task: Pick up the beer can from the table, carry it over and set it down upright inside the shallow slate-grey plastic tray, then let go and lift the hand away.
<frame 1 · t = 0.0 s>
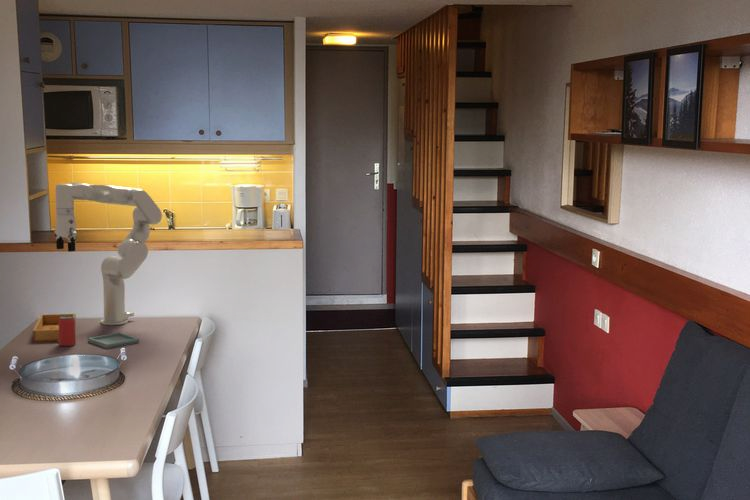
hand: (65, 250, 365), 37 cm above the table, tool pointing down, fingers open, 9 cm apart
beer can: (67, 345, 346), on the table
tray: (55, 334, 366), on the table
slate tray: (113, 342, 352), on the table
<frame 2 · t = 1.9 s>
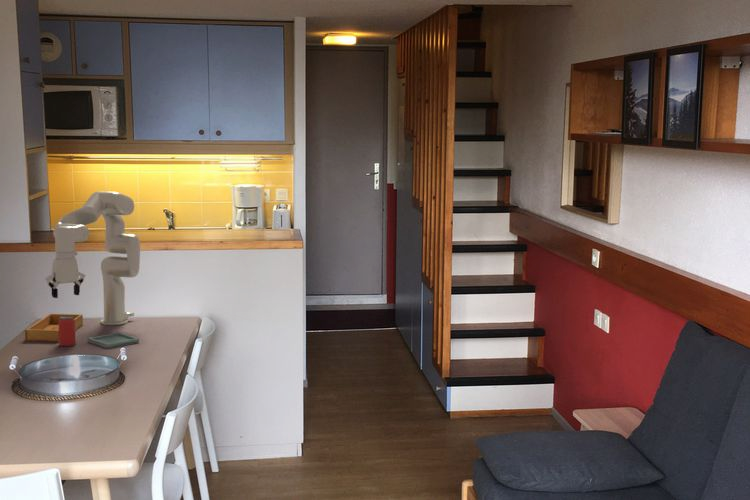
hand: (65, 296, 343), 21 cm above the table, tool pointing down, fingers open, 9 cm apart
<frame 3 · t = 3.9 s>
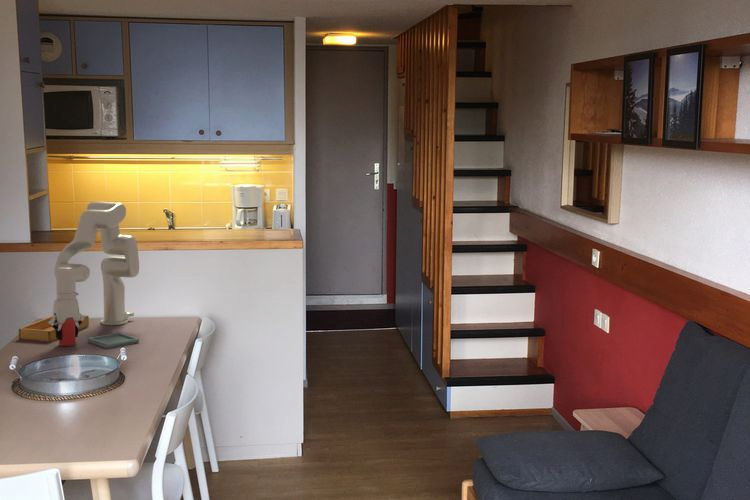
hand: (67, 337, 345), 3 cm above the table, tool pointing down, fingers closed on beer can, 6 cm apart
beer can: (67, 345, 346), on the table, touching gripper
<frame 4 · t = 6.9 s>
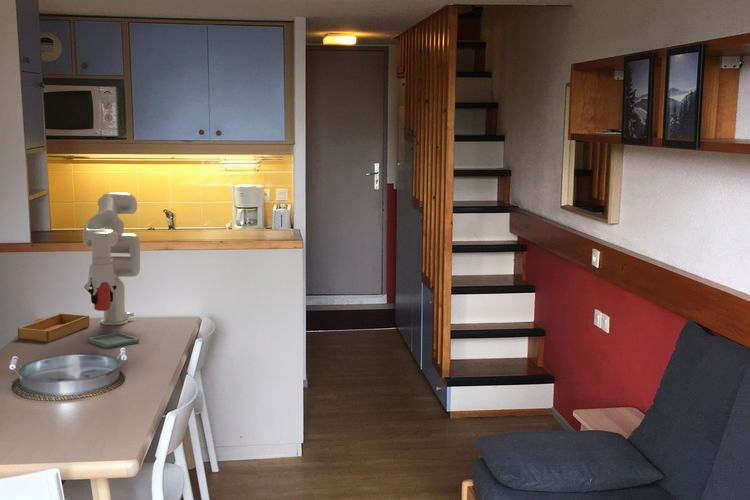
hand: (102, 302, 348), 18 cm above the table, tool pointing down, fingers closed on beer can, 6 cm apart
beer can: (102, 309, 349), point 14 cm above the table, touching gripper
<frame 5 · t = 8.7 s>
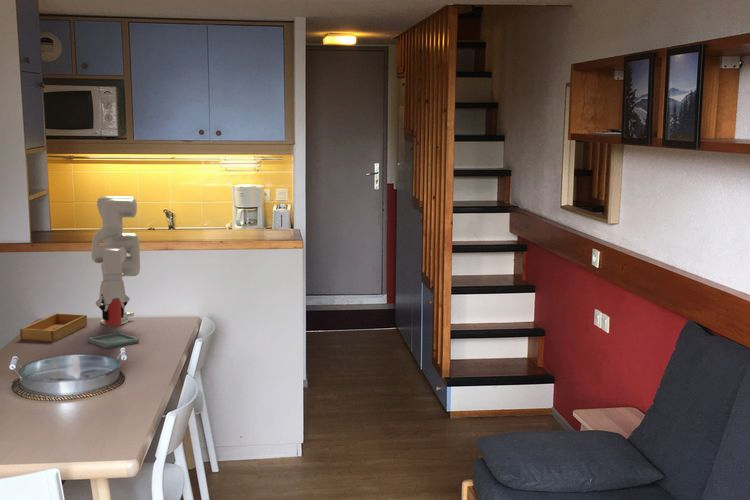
hand: (113, 318, 350), 11 cm above the table, tool pointing down, fingers closed on beer can, 6 cm apart
beer can: (113, 325, 351), point 7 cm above the table, touching gripper
when the fingers open (5 cm above the table, at t = 10.2 s): beer can drops 1 cm, resting on slate tray.
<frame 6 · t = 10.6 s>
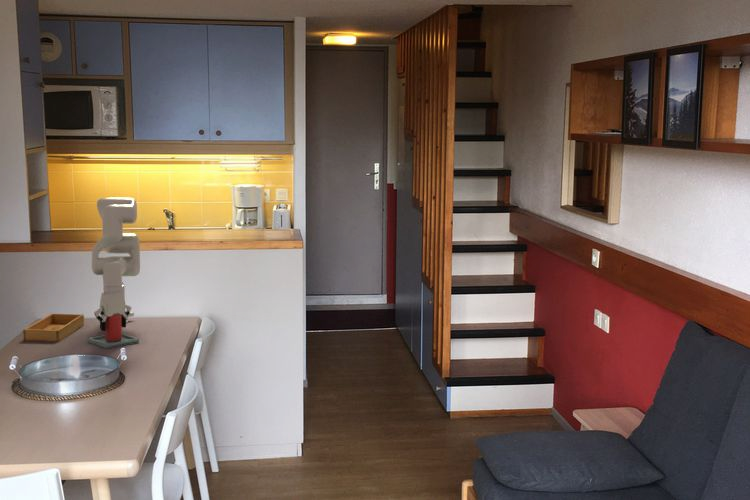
hand: (113, 328, 351), 6 cm above the table, tool pointing down, fingers open, 9 cm apart
beer can: (113, 340, 352), point 1 cm above the table, touching slate tray
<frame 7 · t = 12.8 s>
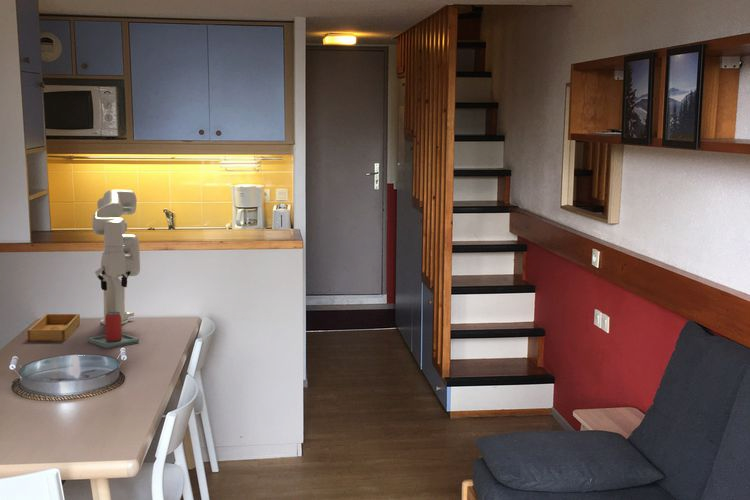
hand: (114, 288, 354), 23 cm above the table, tool pointing down, fingers open, 9 cm apart
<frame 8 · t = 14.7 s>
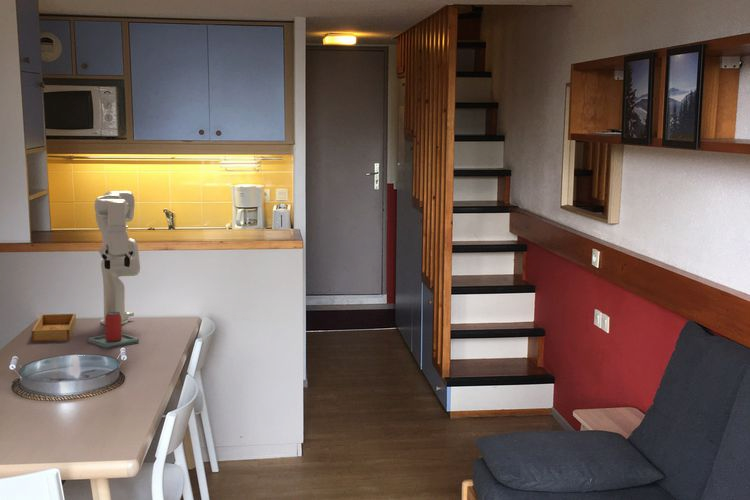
hand: (117, 267, 361), 30 cm above the table, tool pointing down, fingers open, 9 cm apart
at the end: beer can inside the target area on the slate tray (0.3 cm from its centre), point 0.6 cm above the slate tray's base; beer can tilted 0°; the gripper is holding nothing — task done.
